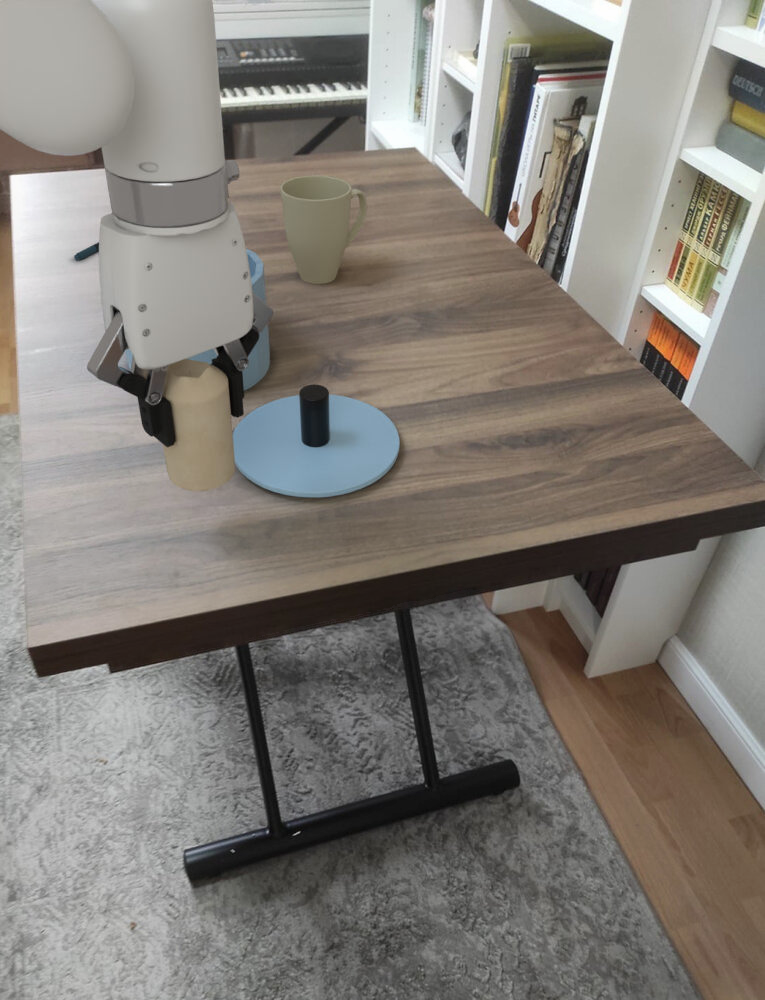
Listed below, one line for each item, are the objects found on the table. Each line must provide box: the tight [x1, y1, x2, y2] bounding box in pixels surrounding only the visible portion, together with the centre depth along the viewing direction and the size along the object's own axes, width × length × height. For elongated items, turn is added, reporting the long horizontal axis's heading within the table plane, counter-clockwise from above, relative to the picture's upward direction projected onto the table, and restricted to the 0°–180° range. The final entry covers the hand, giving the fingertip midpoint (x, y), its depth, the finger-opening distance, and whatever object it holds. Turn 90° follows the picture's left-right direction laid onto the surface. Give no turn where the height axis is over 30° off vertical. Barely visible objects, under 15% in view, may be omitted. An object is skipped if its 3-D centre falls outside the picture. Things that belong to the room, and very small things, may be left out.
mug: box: [279, 174, 368, 285], centre depth 110 cm, size 11×10×12 cm
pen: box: [73, 241, 99, 262], centre depth 120 cm, size 1×16×1 cm, turn 153°
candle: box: [162, 359, 236, 492], centre depth 66 cm, size 6×6×10 cm
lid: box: [232, 383, 401, 498], centre depth 81 cm, size 17×17×7 cm
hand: (195, 421), depth 66 cm, fingers closed on candle, 5 cm apart
